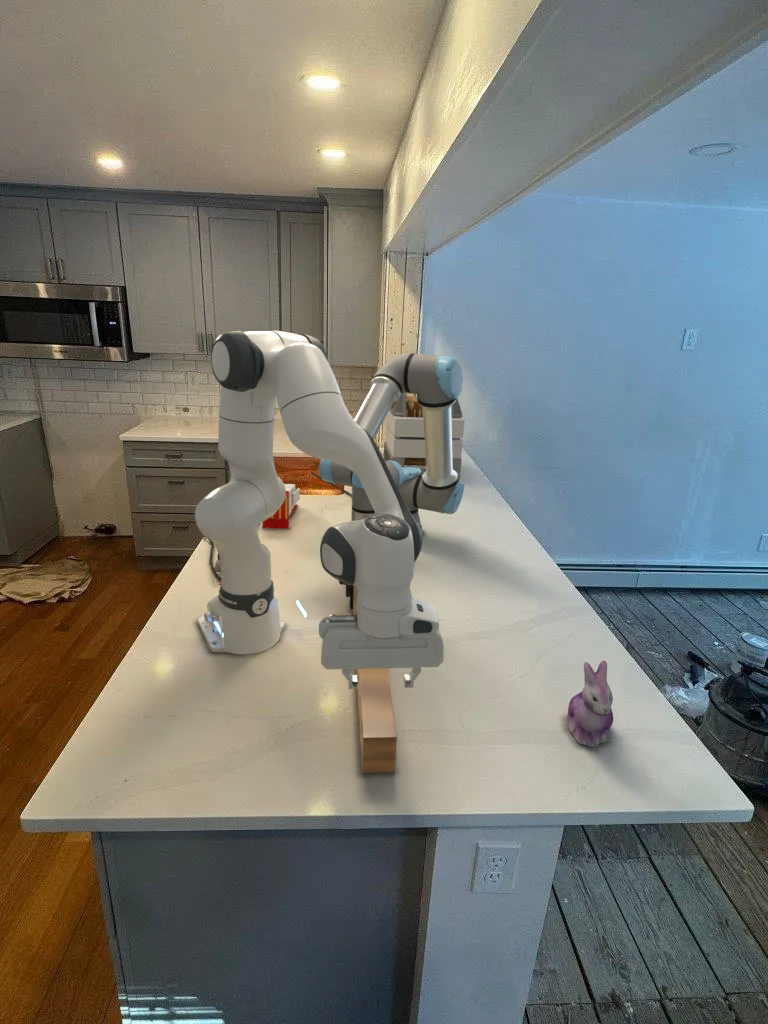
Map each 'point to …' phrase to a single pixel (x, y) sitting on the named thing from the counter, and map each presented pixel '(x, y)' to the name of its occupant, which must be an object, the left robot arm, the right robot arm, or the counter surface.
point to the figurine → (591, 708)
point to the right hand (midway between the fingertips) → (363, 606)
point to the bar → (375, 717)
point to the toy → (284, 509)
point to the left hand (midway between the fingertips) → (380, 686)
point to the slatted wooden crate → (417, 433)
